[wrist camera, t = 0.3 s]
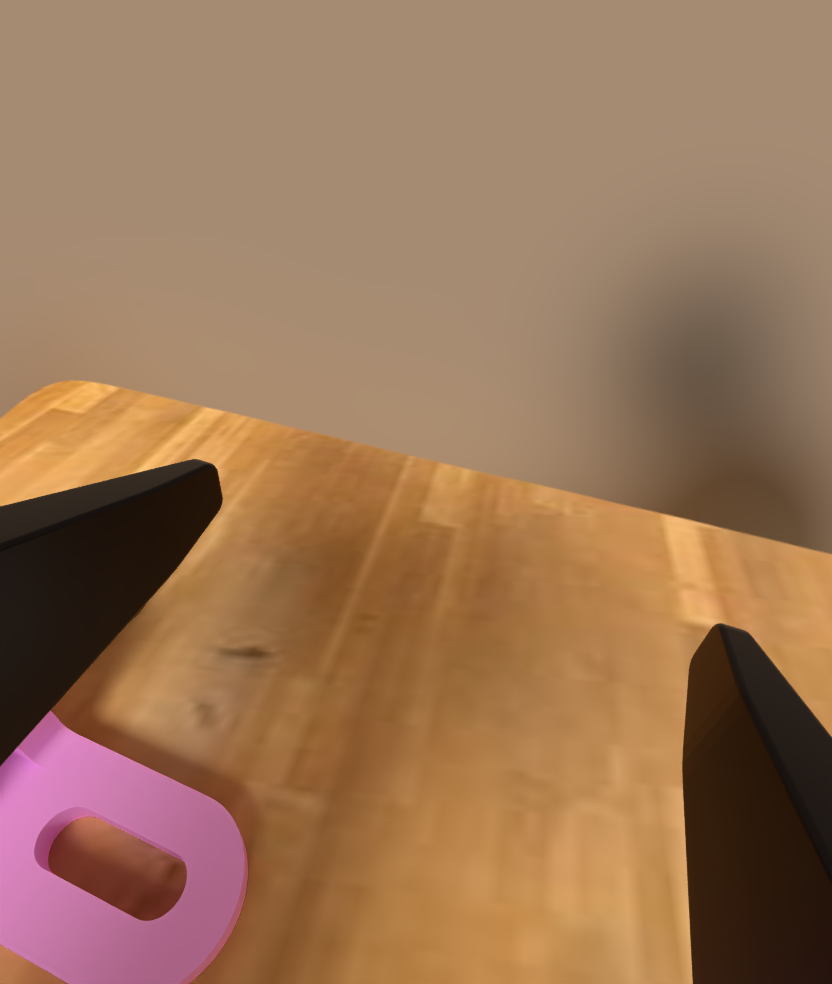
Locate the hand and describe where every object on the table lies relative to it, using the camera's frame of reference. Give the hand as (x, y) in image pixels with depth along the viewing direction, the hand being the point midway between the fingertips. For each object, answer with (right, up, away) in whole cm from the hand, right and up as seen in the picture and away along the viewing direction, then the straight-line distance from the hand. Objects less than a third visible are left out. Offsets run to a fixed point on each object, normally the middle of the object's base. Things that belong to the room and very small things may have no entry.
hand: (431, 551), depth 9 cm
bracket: (-13, -12, +10) cm, 20 cm away
